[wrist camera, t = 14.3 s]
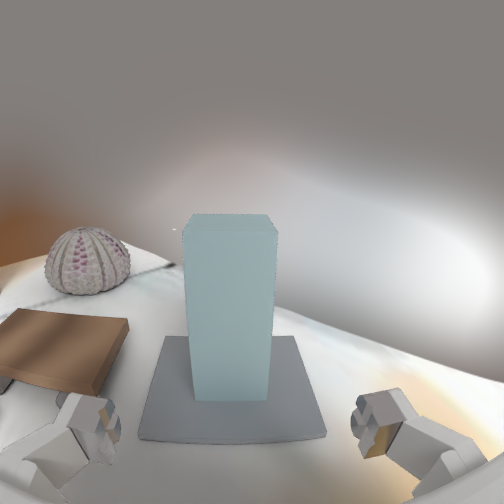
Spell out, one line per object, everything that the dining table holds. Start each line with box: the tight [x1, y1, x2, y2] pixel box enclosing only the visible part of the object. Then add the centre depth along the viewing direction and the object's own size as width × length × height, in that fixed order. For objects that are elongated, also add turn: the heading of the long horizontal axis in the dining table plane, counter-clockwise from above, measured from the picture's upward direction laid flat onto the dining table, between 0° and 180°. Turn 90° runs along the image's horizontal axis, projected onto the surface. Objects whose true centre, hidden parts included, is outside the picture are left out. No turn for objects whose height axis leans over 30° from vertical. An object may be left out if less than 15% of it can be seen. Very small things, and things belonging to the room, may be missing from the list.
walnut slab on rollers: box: [0, 308, 129, 409], centre depth 20 cm, size 13×10×3 cm
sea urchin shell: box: [44, 227, 131, 295], centre depth 38 cm, size 13×14×8 cm
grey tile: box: [138, 336, 327, 444], centre depth 22 cm, size 12×12×1 cm
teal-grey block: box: [182, 214, 278, 401], centre depth 20 cm, size 5×5×12 cm
